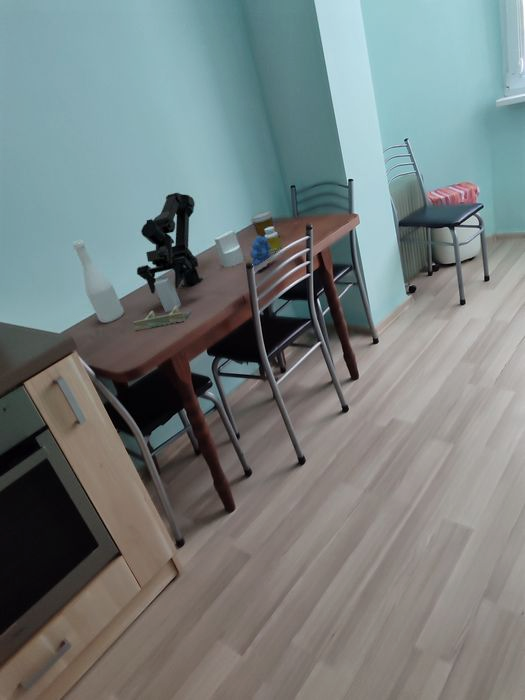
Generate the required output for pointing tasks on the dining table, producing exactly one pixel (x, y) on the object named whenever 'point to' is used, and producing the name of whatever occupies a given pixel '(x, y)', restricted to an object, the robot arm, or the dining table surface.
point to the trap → (161, 319)
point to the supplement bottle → (272, 239)
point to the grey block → (167, 293)
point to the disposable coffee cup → (262, 222)
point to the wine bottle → (98, 288)
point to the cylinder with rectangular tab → (229, 249)
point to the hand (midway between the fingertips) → (164, 290)
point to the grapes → (260, 250)
